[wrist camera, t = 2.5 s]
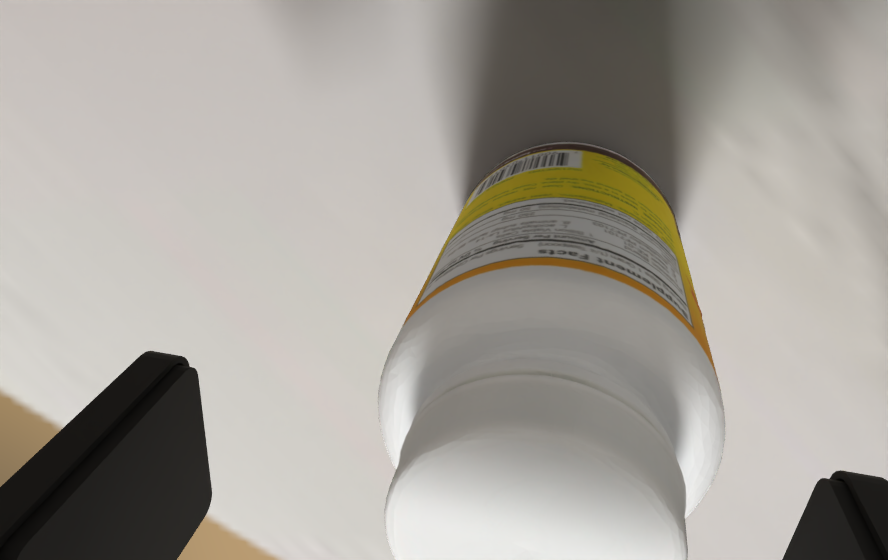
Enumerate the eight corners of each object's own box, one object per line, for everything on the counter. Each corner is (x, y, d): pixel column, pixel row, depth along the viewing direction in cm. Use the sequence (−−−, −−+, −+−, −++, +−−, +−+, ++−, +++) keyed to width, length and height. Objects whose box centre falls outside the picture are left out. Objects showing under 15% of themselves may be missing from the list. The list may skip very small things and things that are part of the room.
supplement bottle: (596, 362, 19) (587, 739, 10) (427, 265, 19) (266, 564, 10) (726, 207, 16) (872, 538, 7) (530, 90, 16) (436, 288, 7)
